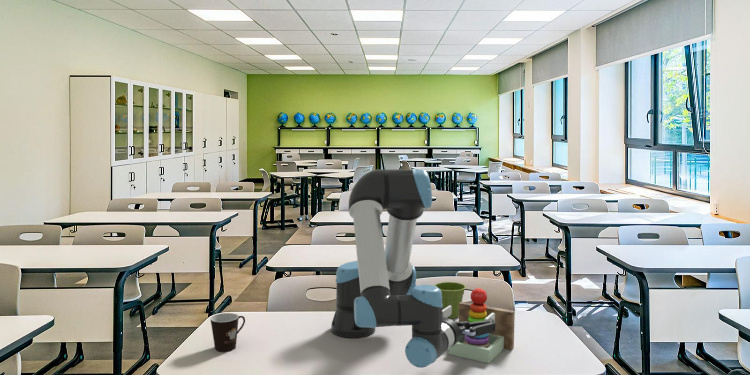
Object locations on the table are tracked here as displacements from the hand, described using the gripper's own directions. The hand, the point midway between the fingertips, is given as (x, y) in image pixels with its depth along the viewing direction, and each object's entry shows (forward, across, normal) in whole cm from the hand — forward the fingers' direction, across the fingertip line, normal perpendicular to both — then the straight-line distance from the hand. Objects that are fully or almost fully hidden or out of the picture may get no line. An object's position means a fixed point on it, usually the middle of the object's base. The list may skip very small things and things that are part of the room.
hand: (471, 313), depth 171 cm
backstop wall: (+13, 0, -14) cm, 19 cm away
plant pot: (+32, -21, -14) cm, 41 cm away
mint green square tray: (+5, 0, -14) cm, 15 cm away
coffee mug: (-32, -69, -14) cm, 77 cm away
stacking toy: (+6, 0, -13) cm, 14 cm away
